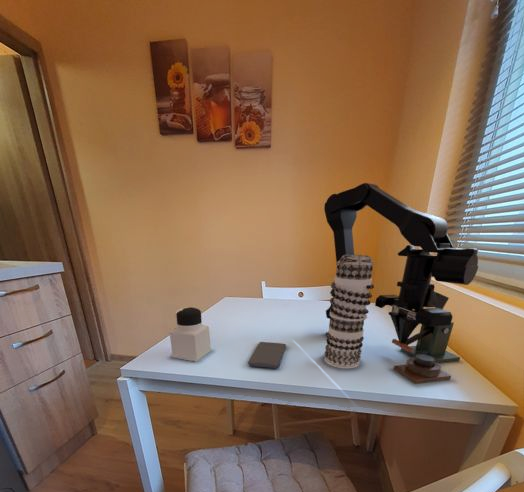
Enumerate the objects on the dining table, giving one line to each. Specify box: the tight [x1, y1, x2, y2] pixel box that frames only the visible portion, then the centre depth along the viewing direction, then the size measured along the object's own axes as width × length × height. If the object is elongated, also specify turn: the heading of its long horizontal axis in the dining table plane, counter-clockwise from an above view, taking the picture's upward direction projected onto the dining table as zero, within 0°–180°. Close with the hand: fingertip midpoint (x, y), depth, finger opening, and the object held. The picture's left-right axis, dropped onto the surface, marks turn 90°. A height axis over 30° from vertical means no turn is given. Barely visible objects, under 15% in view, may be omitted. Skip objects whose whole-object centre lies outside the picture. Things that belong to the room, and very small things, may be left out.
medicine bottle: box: [169, 306, 212, 363], centre depth 69 cm, size 7×7×12 cm
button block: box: [393, 357, 452, 385], centre depth 62 cm, size 9×7×3 cm
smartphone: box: [247, 341, 287, 369], centre depth 71 cm, size 8×1×15 cm
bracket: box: [400, 321, 461, 364], centre depth 71 cm, size 10×9×10 cm
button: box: [414, 354, 435, 368], centre depth 61 cm, size 4×4×2 cm
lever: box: [391, 326, 435, 352], centre depth 69 cm, size 12×6×2 cm, turn 104°
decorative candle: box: [324, 254, 376, 369], centre depth 64 cm, size 9×9×25 cm
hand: (402, 342), depth 69 cm, fingers closed, pressing on lever
